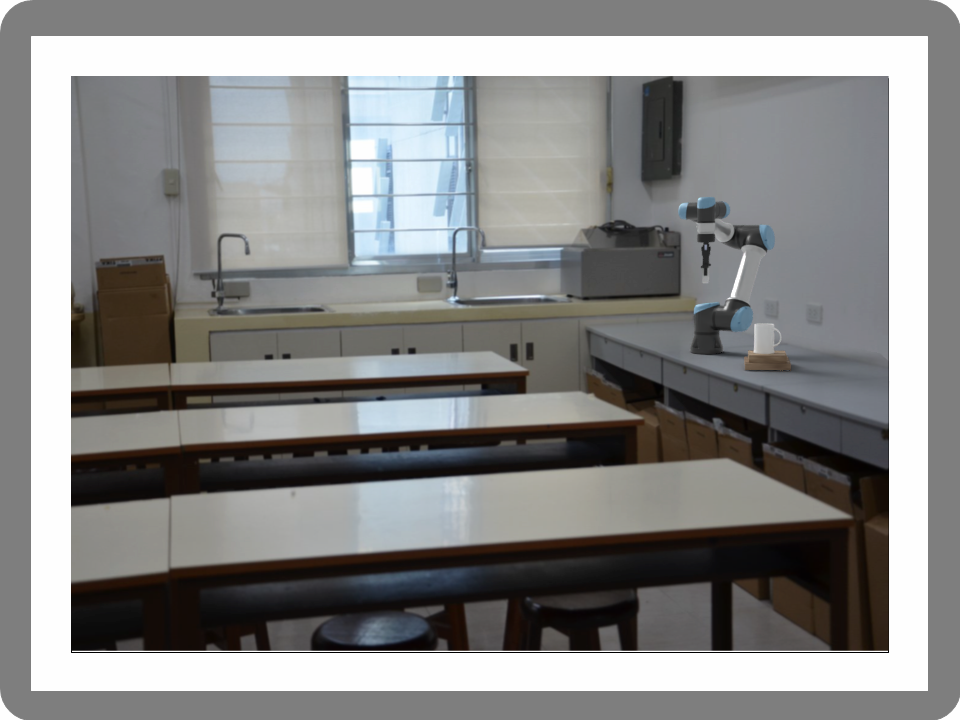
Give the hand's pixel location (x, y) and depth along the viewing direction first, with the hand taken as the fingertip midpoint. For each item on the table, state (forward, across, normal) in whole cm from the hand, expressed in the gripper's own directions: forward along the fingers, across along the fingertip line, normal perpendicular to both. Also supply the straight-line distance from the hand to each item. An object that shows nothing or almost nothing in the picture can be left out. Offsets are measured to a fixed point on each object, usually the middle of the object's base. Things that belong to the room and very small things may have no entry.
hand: (705, 282), depth 416 cm
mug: (+29, +15, +26) cm, 41 cm away
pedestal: (+35, +15, +26) cm, 46 cm away
